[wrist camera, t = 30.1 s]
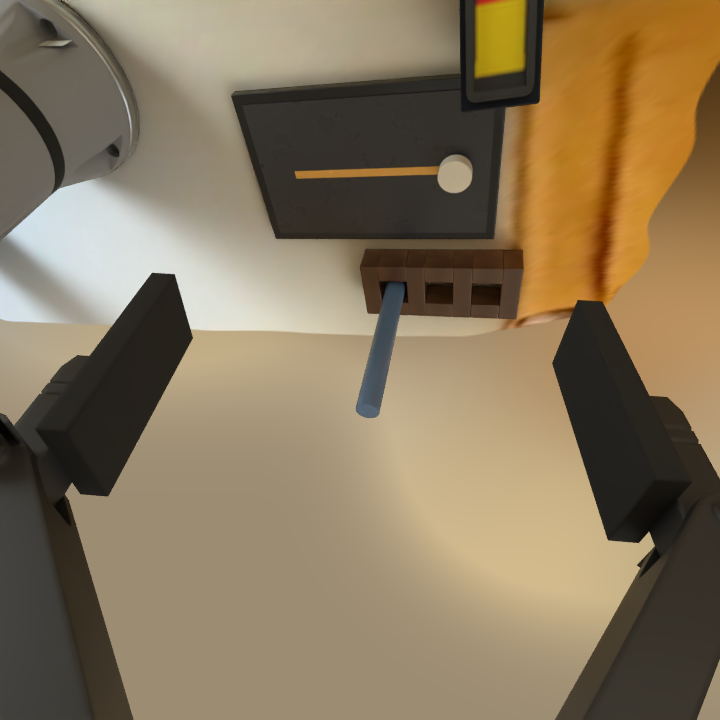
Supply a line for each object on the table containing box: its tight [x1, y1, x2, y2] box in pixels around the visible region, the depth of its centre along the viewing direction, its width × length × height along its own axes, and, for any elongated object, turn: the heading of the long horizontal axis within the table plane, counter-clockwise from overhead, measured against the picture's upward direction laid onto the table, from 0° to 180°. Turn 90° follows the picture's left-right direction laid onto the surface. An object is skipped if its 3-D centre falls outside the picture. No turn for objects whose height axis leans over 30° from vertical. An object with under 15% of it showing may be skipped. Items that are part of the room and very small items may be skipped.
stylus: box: [356, 281, 407, 418], centre depth 45 cm, size 2×2×18 cm
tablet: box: [231, 74, 506, 239], centre depth 42 cm, size 22×14×1 cm, turn 98°
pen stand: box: [360, 249, 524, 319], centre depth 49 cm, size 16×6×3 cm, turn 98°
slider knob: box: [438, 155, 473, 193], centre depth 39 cm, size 3×3×1 cm
